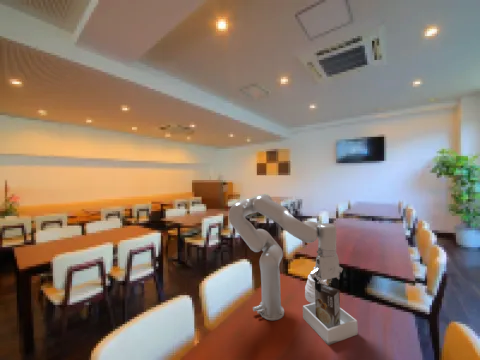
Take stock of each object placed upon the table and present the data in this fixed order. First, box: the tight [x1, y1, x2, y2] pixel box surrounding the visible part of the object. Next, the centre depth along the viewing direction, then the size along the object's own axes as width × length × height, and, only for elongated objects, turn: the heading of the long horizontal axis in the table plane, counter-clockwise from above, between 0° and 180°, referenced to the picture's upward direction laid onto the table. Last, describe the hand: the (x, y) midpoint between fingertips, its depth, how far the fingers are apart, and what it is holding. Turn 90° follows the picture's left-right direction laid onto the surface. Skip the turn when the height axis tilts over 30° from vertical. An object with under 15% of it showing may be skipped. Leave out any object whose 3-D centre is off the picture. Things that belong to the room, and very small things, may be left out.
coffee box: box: [315, 283, 341, 329], centre depth 92 cm, size 9×6×16 cm
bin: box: [302, 303, 359, 346], centre depth 92 cm, size 16×17×6 cm
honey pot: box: [304, 266, 328, 304], centre depth 112 cm, size 13×13×18 cm
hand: (326, 288), depth 92 cm, fingers open, 9 cm apart
